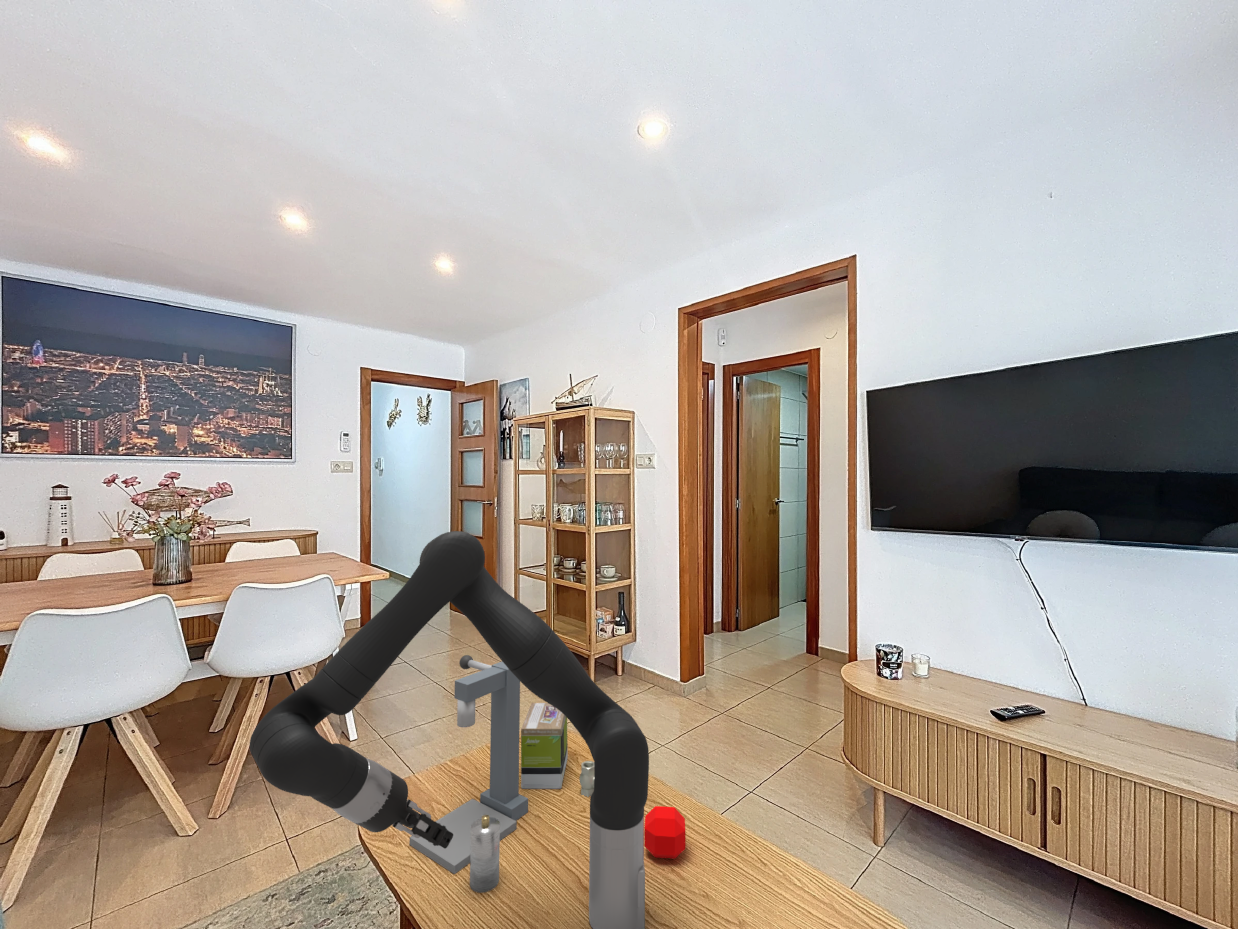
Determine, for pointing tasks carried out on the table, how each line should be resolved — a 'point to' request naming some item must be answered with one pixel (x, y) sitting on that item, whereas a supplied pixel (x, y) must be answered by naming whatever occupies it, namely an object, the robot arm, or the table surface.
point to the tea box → (543, 747)
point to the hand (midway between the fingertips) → (432, 831)
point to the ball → (665, 832)
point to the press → (503, 763)
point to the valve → (587, 778)
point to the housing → (484, 854)
